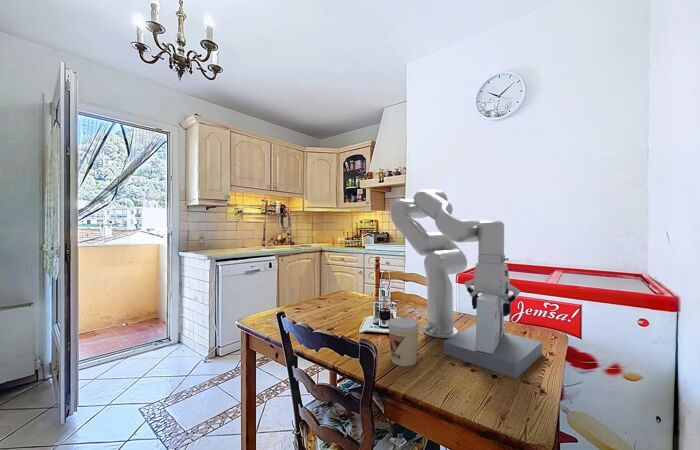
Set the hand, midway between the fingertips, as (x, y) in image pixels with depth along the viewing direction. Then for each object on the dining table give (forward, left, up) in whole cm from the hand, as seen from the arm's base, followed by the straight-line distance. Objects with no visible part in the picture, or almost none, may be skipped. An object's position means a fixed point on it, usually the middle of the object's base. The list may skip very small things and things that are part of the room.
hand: (490, 311), depth 98 cm
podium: (0, -1, -14) cm, 14 cm away
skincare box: (0, 0, -10) cm, 10 cm away
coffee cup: (-24, +16, -14) cm, 32 cm away
